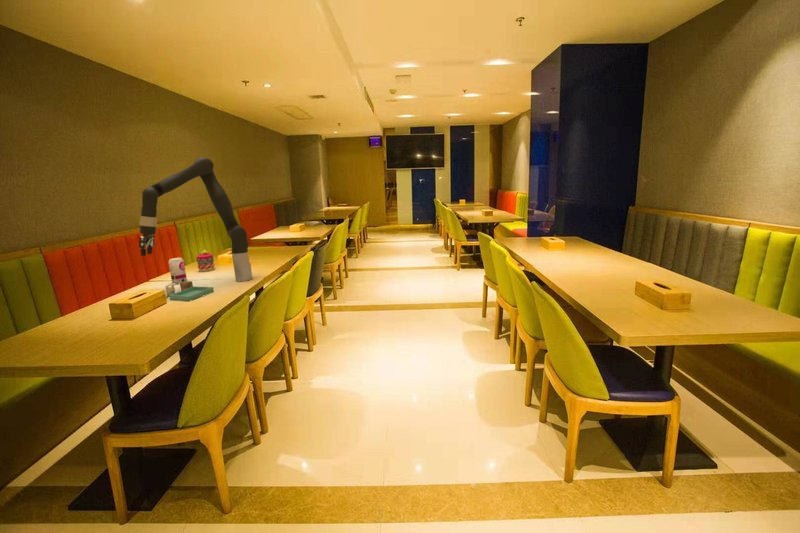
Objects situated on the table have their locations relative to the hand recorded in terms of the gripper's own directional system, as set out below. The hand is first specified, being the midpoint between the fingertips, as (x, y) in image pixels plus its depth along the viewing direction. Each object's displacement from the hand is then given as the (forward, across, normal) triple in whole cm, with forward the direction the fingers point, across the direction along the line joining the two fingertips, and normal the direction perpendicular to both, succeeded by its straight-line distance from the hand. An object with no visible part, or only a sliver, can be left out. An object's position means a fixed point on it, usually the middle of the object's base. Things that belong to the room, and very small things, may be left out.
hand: (146, 254), depth 220 cm
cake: (+16, +57, -18) cm, 62 cm away
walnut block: (+19, +6, -20) cm, 28 cm away
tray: (+19, -7, -26) cm, 33 cm away
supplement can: (+20, +28, -10) cm, 35 cm away
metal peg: (+21, -4, -15) cm, 26 cm away
